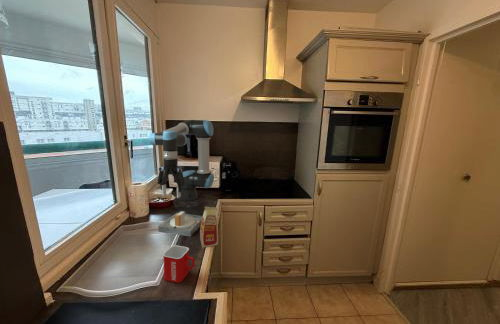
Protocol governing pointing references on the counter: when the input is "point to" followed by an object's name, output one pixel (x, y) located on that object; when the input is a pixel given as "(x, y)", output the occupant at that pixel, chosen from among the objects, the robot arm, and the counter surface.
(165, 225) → the panel
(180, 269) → the mug
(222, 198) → the counter surface
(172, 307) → the counter surface
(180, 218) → the dial
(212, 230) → the milk carton
